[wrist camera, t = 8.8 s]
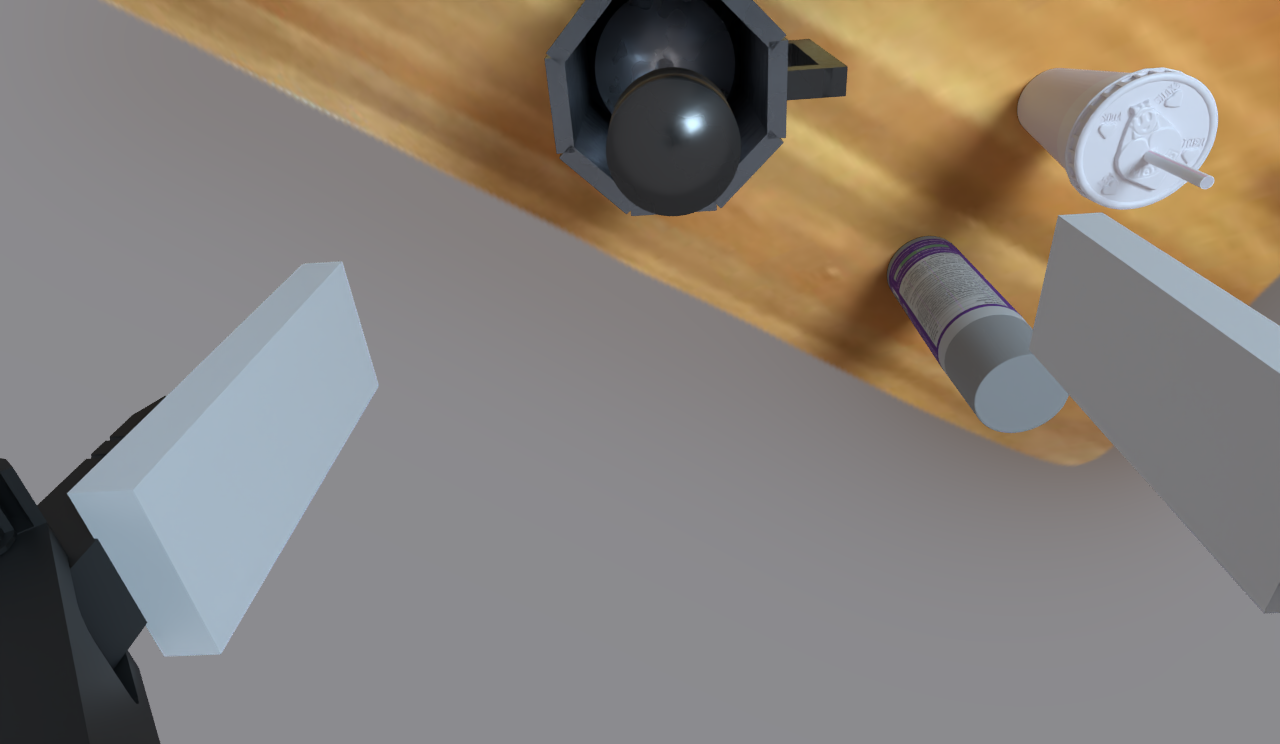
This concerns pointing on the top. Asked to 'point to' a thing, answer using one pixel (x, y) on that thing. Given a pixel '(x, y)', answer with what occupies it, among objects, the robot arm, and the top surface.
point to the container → (974, 336)
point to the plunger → (668, 104)
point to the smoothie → (1123, 131)
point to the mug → (755, 98)
